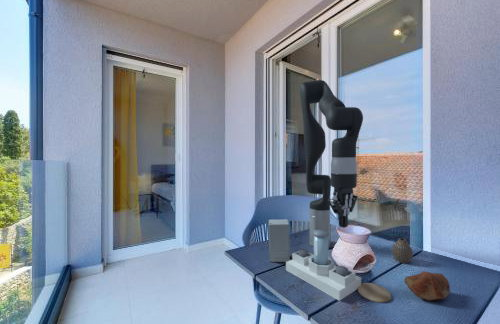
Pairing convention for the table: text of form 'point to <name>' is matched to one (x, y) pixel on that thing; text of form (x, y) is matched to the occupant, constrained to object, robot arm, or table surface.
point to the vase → (402, 251)
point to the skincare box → (279, 240)
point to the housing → (323, 276)
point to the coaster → (374, 292)
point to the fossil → (428, 285)
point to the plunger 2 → (342, 271)
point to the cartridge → (321, 247)
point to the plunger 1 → (303, 253)
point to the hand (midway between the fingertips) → (343, 226)
